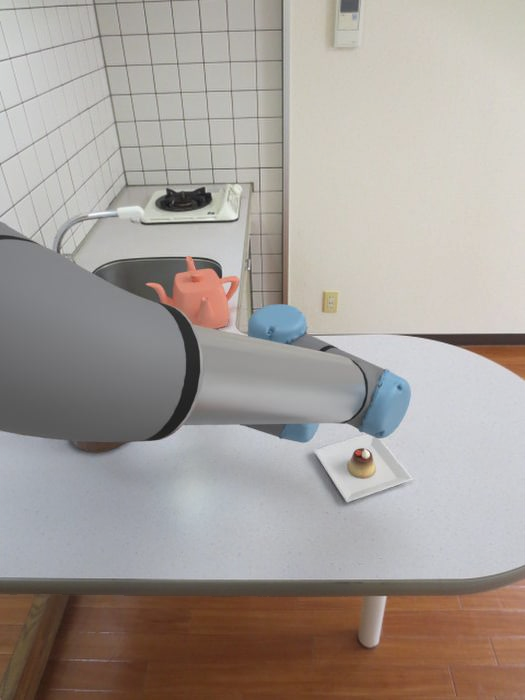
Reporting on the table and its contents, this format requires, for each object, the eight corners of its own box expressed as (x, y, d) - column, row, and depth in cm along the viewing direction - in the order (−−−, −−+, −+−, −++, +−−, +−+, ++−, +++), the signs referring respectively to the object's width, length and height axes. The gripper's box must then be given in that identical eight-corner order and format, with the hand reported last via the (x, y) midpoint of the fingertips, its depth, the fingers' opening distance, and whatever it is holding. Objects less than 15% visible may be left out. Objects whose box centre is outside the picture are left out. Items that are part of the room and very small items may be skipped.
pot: (150, 325, 128) (141, 279, 121) (193, 294, 140) (187, 251, 133) (211, 345, 120) (205, 297, 113) (251, 311, 132) (249, 265, 125)
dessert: (313, 454, 90) (313, 434, 88) (374, 435, 94) (376, 415, 91) (346, 507, 81) (348, 486, 78) (413, 483, 84) (416, 462, 82)
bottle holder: (95, 462, 91) (86, 433, 87) (59, 431, 98) (48, 402, 94) (151, 425, 98) (145, 396, 94) (113, 399, 105) (106, 371, 101)
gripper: (176, 467, 71) (59, 425, 79) (257, 366, 90) (155, 341, 98) (168, 426, 67) (45, 386, 75) (255, 329, 85) (148, 305, 93)
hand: (107, 360), depth 86 cm, fingers open, 13 cm apart
